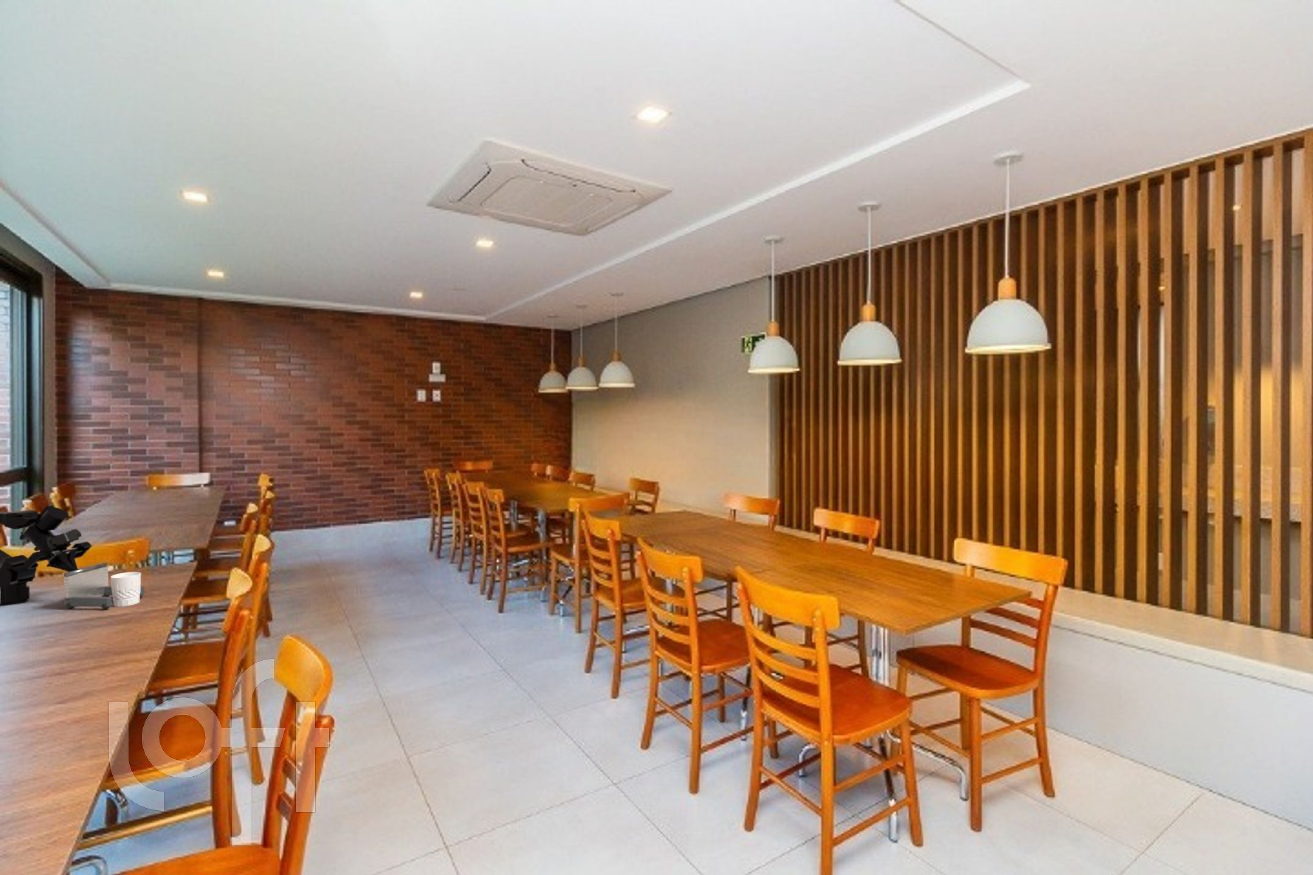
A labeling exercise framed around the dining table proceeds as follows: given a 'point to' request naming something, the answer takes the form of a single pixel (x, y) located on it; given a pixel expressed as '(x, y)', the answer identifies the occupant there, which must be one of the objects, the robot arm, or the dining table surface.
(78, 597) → the silver boxy shape
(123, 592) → the white cup
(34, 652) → the dining table surface
